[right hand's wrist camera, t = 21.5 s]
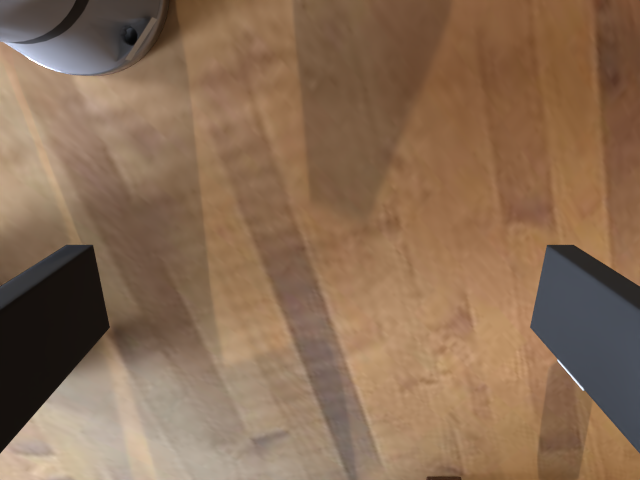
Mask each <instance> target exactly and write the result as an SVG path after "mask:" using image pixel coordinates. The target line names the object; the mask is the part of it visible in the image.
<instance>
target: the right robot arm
mask: <svg viewBox="0 0 640 480" xmlns="http://www.w3.org/2000/svg"><path fill="white" fill-rule="evenodd" d="M168 7H169V0H0V42H4V43H6V44H7V45H9V46H11V47H12V48H14V49H15V50H17V51H19V52H20V53H22V54H23V55H25V56H26V57H28V58H29V59H31V60H33V61H34V62H36V63H38V64H40V65H42V66H44V67H46V68H49V69H52V70H55V71H58V72H62V73H65V74H72V75H87V76H100V75H108V74H112V73H116V72H119V71H122V70H124V69H126V68H128V67H130V66H132V65H133V64H135V63H136V62H138V61H139V60H140V59H141V58H142V57H143V56H145V55H146V54H147V52H148V51H149V50H150V49H151V48H152V46H153V45H154V43H155V42H156V40H157V39H158V37H159V35H160V33H161V31H162V28H163V26H164V23H165V20H166V16H167V12H168ZM109 328H110V326H109V321H108V316H107V311H106V306H105V301H104V297H103V292H102V287H101V282H100V277H99V272H98V267H97V262H96V258H95V253H94V248H93V245H66V246H64V247H62V248H61V249H59V250H58V251H56V252H54V253H53V254H51V255H50V256H48V257H46V258H45V259H43V260H42V261H40V262H39V263H37V264H35V265H34V266H32V267H31V268H29V269H27V270H26V271H24V272H23V273H21V274H19V275H18V276H16V277H15V278H13V279H12V280H10V281H8V282H7V283H5V284H4V285H2V286H0V453H1V452H2V451H3V450H4V449H5V447H6V446H7V445H8V444H9V443H10V442H11V440H12V439H13V438H14V437H15V436H16V435H17V434H18V432H19V431H20V430H21V429H22V428H23V427H24V426H25V424H26V423H27V422H28V421H29V420H30V419H31V417H32V416H33V415H34V414H35V413H36V412H37V411H38V409H39V408H40V407H41V406H42V405H43V404H44V402H45V401H46V400H47V399H48V398H49V397H50V396H51V394H52V393H53V392H54V391H55V390H56V389H57V388H58V386H59V385H60V384H61V383H62V382H63V381H64V379H65V378H66V377H67V376H68V375H69V374H70V373H71V371H72V370H73V369H74V368H75V367H76V366H77V365H78V363H79V362H80V361H81V360H82V359H83V358H84V356H85V355H86V354H87V353H88V352H89V351H90V350H91V348H92V347H93V346H94V345H95V344H96V343H97V341H98V340H99V339H100V338H101V337H102V336H103V335H104V333H105V332H106V331H107V330H108V329H109ZM530 328H531V329H532V330H533V331H534V332H535V333H536V335H537V336H538V337H539V338H540V339H541V340H542V341H543V343H544V344H545V345H546V346H547V347H548V348H549V350H550V351H551V352H552V353H553V354H554V355H555V356H556V358H557V359H558V360H559V361H560V362H561V363H562V365H563V366H564V367H565V368H566V369H567V370H568V371H569V373H570V374H571V375H572V376H573V377H574V378H575V379H576V381H577V382H578V383H579V384H580V385H581V386H582V388H583V389H584V390H585V391H586V392H587V393H588V394H589V396H590V397H591V398H592V399H593V400H594V401H595V402H596V404H597V405H598V406H599V407H600V408H601V409H602V411H603V412H604V413H605V414H606V415H607V416H608V417H609V419H610V420H611V421H612V422H613V423H614V424H615V426H616V427H617V428H618V429H619V430H620V431H621V432H622V434H623V435H624V436H625V437H626V438H627V439H628V440H629V442H630V443H631V444H632V445H633V446H634V447H635V449H636V450H637V451H638V452H639V453H640V286H638V285H636V284H635V283H633V282H632V281H630V280H628V279H627V278H625V277H624V276H622V275H621V274H619V273H617V272H616V271H614V270H613V269H611V268H609V267H608V266H606V265H605V264H603V263H601V262H600V261H598V260H597V259H595V258H594V257H592V256H590V255H589V254H587V253H586V252H584V251H582V250H581V249H579V248H578V247H576V246H574V245H547V248H546V253H545V258H544V262H543V267H542V272H541V277H540V282H539V287H538V292H537V297H536V301H535V306H534V311H533V316H532V321H531V326H530Z"/></svg>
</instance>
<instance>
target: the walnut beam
mask: <svg viewBox="0 0 640 480" xmlns="http://www.w3.org/2000/svg"><path fill="white" fill-rule="evenodd" d="M427 480H461V477H427Z"/></svg>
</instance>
